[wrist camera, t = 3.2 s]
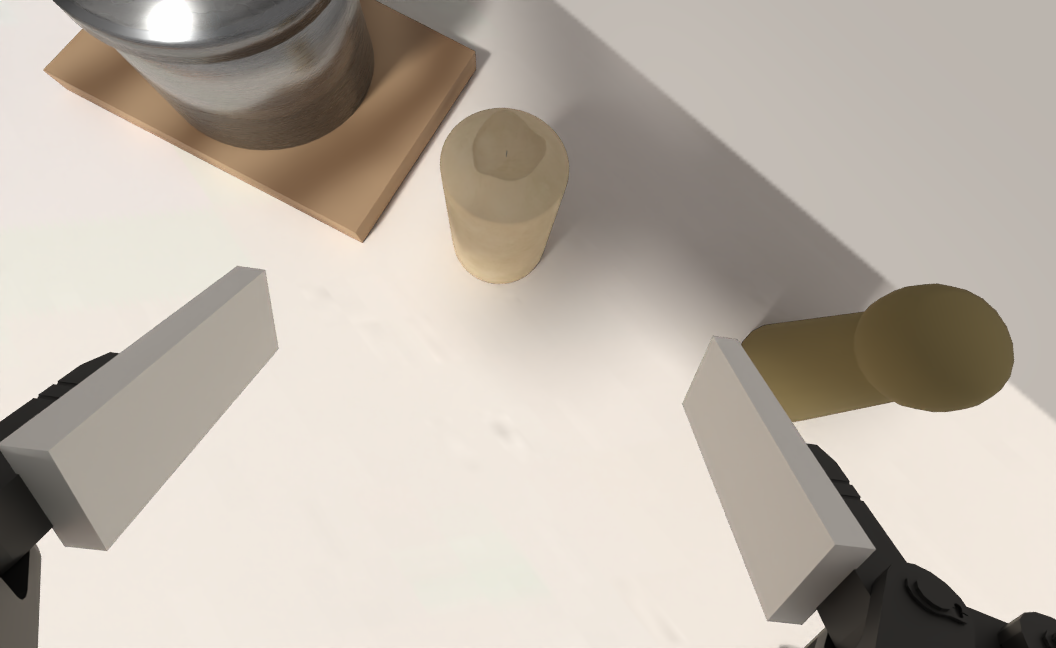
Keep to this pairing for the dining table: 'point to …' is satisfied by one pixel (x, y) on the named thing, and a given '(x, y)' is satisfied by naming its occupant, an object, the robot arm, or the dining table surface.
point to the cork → (887, 355)
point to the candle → (502, 191)
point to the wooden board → (329, 162)
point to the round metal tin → (243, 62)
